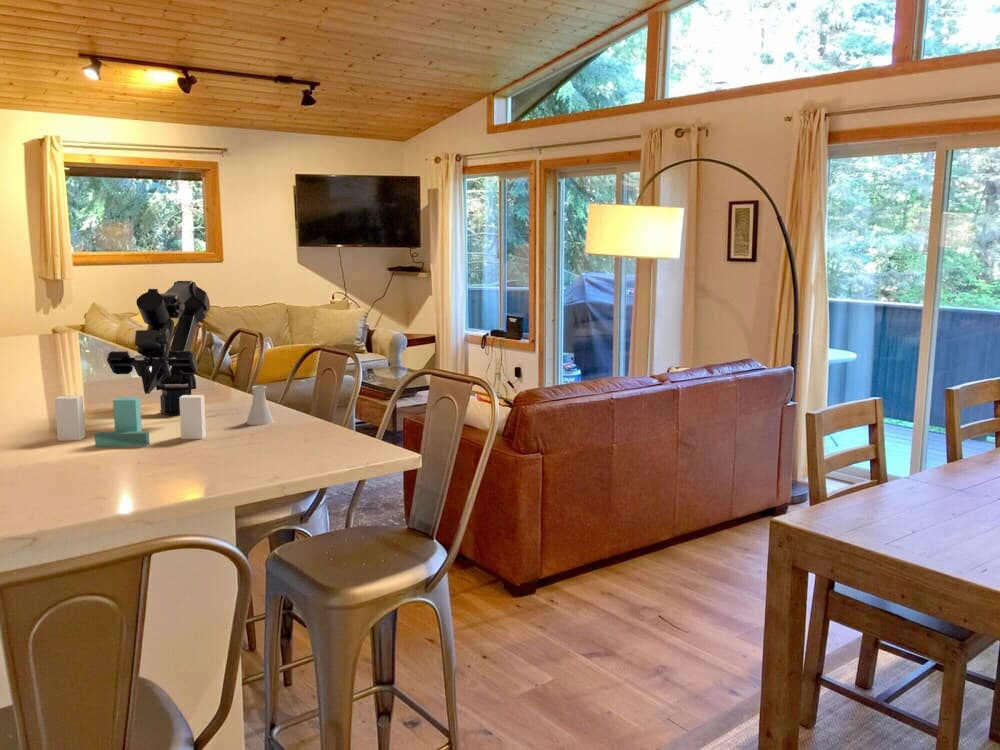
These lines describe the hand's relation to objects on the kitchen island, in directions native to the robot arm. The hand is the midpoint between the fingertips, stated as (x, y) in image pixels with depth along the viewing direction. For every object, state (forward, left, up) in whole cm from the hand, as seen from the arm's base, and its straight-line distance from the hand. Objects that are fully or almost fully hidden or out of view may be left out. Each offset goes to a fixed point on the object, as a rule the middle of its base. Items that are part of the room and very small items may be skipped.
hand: (146, 392), depth 183 cm
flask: (-21, +12, -10) cm, 26 cm away
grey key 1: (+16, 0, -8) cm, 18 cm away
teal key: (+8, +10, -8) cm, 15 cm away
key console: (+8, +10, -9) cm, 16 cm away
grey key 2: (-3, +16, -8) cm, 18 cm away
